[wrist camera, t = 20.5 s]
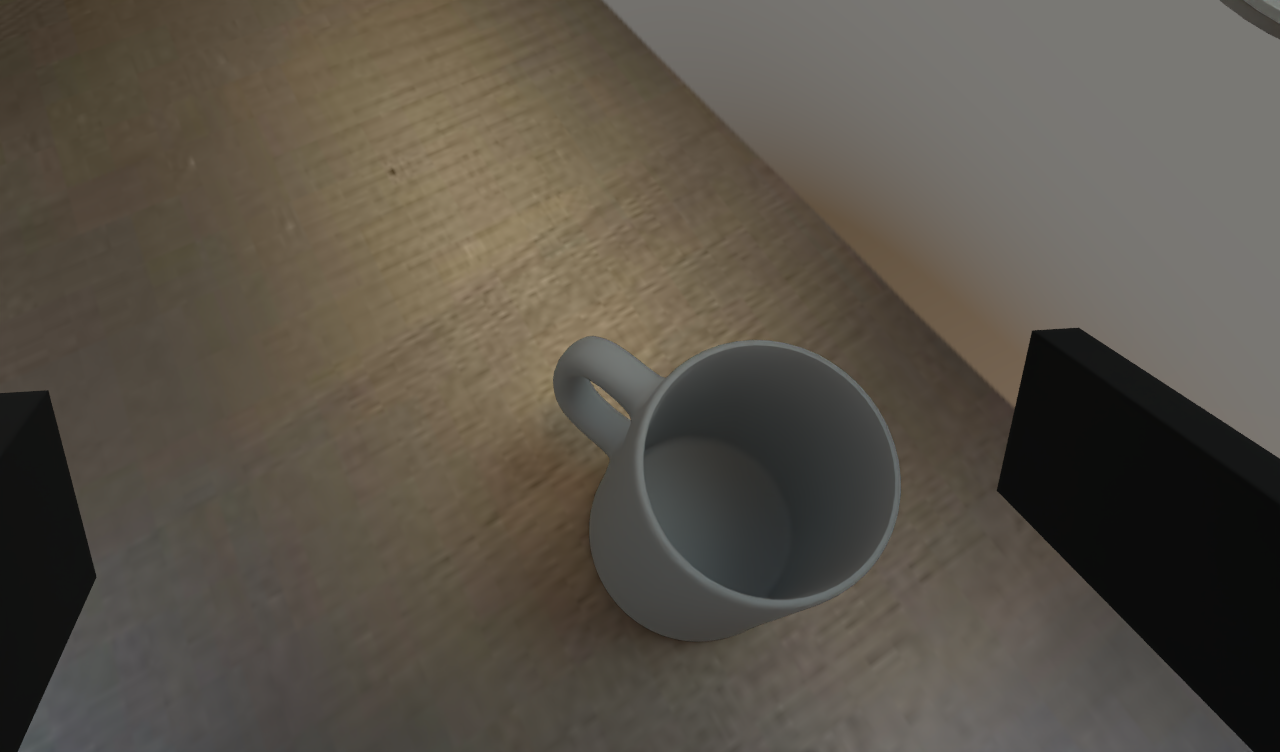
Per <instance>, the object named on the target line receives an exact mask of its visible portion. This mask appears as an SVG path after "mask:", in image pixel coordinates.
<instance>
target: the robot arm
mask: <svg viewBox="0 0 1280 752" xmlns="http://www.w3.org/2000/svg"><path fill="white" fill-rule="evenodd" d="M997 491H998V492H999V493H1000V494H1001V495H1002V496H1003V497H1004V498H1005V499H1006V500H1007V501H1008V502H1009V503H1010V504H1011V505H1012V506H1013V507H1014V509H1015V510H1016V511H1017V512H1018V513H1019V514H1020V515H1021V516H1022V517H1023V518H1024V519H1025V520H1026V521H1027V522H1028V523H1029V524H1030V525H1031V526H1032V527H1033V528H1034V529H1035V530H1036V531H1037V532H1038V533H1039V534H1040V535H1041V536H1042V537H1043V538H1044V539H1045V540H1046V541H1047V542H1048V543H1049V544H1050V545H1051V546H1052V547H1053V548H1054V549H1055V550H1056V551H1057V552H1058V553H1059V554H1060V555H1061V556H1062V557H1063V558H1064V559H1065V560H1066V561H1067V562H1068V563H1069V564H1070V565H1071V567H1072V568H1073V569H1074V570H1075V571H1076V572H1077V573H1078V574H1079V575H1080V576H1081V577H1082V578H1083V579H1084V580H1085V581H1086V582H1087V583H1088V584H1089V585H1090V586H1091V587H1092V588H1093V589H1094V590H1095V591H1096V592H1097V593H1098V594H1099V595H1100V596H1101V597H1102V598H1103V599H1104V600H1105V601H1106V602H1107V603H1108V604H1109V605H1110V606H1111V607H1112V608H1113V609H1114V610H1115V611H1116V612H1117V613H1118V614H1119V615H1120V616H1121V617H1122V618H1123V619H1124V620H1125V621H1126V622H1127V623H1128V624H1129V626H1130V627H1131V628H1132V629H1133V630H1134V631H1135V632H1136V633H1137V634H1138V635H1139V636H1140V637H1141V638H1142V639H1143V640H1144V641H1145V642H1146V643H1147V644H1148V645H1149V646H1150V647H1151V648H1152V649H1153V650H1154V651H1155V652H1156V653H1157V654H1158V655H1159V656H1160V657H1161V658H1162V659H1163V660H1164V661H1165V662H1166V663H1167V664H1168V665H1169V666H1170V667H1171V668H1172V669H1173V670H1174V671H1175V672H1176V673H1177V674H1178V675H1179V676H1180V677H1181V678H1182V679H1183V680H1184V681H1185V682H1186V683H1187V685H1188V686H1189V687H1190V688H1191V689H1192V690H1193V691H1194V692H1195V693H1196V694H1197V695H1198V696H1199V697H1200V698H1201V699H1202V700H1203V701H1204V702H1205V703H1206V704H1207V705H1208V706H1209V707H1210V708H1211V709H1212V710H1213V711H1214V712H1215V713H1216V714H1217V715H1218V716H1219V717H1220V718H1221V719H1222V720H1223V721H1224V722H1225V723H1226V724H1227V725H1228V726H1229V727H1230V728H1231V729H1232V730H1233V731H1234V732H1235V733H1236V734H1237V735H1238V736H1239V737H1240V738H1241V739H1242V740H1243V741H1244V742H1245V744H1246V745H1247V746H1248V747H1249V748H1250V749H1251V750H1252V751H1253V752H1280V459H1279V458H1278V457H1276V456H1275V455H1273V454H1272V453H1270V452H1269V451H1267V450H1265V449H1264V448H1262V447H1261V446H1259V445H1258V444H1256V443H1255V442H1253V441H1252V440H1250V439H1249V438H1247V437H1245V436H1244V435H1243V434H1241V433H1239V432H1238V431H1236V430H1235V429H1233V428H1232V427H1230V426H1229V425H1227V424H1226V423H1224V422H1222V421H1221V420H1219V419H1218V418H1216V417H1215V416H1213V415H1212V414H1210V413H1209V412H1207V411H1206V410H1204V409H1203V408H1201V407H1200V406H1198V405H1196V404H1195V403H1193V402H1192V401H1190V400H1189V399H1187V398H1186V397H1184V396H1183V395H1181V394H1180V393H1178V392H1176V391H1175V390H1173V389H1172V388H1170V387H1169V386H1167V385H1166V384H1164V383H1163V382H1161V381H1159V380H1158V379H1157V378H1155V377H1153V376H1152V375H1150V374H1149V373H1147V372H1146V371H1144V370H1143V369H1141V368H1140V367H1138V366H1137V365H1135V364H1133V363H1132V362H1130V361H1129V360H1127V359H1126V358H1124V357H1123V356H1121V355H1120V354H1118V353H1117V352H1115V351H1114V350H1112V349H1110V348H1109V347H1107V346H1106V345H1104V344H1103V343H1101V342H1100V341H1098V340H1097V339H1095V338H1093V337H1092V336H1090V335H1089V334H1087V333H1086V332H1084V331H1083V330H1081V329H1080V328H1068V329H1052V330H1035V331H1032V334H1031V338H1030V343H1029V348H1028V352H1027V356H1026V361H1025V366H1024V370H1023V375H1022V380H1021V384H1020V388H1019V393H1018V397H1017V402H1016V406H1015V411H1014V415H1013V420H1012V424H1011V429H1010V433H1009V438H1008V442H1007V447H1006V451H1005V456H1004V460H1003V465H1002V469H1001V474H1000V479H999V483H998V488H997ZM95 579H96V573H95V569H94V566H93V562H92V558H91V554H90V550H89V546H88V542H87V539H86V535H85V531H84V527H83V523H82V519H81V515H80V511H79V508H78V504H77V500H76V496H75V492H74V488H73V484H72V480H71V477H70V473H69V469H68V465H67V461H66V457H65V453H64V449H63V446H62V442H61V438H60V434H59V430H58V426H57V422H56V419H55V415H54V411H53V407H52V403H51V399H50V395H49V391H48V390H47V391H31V392H14V393H0V752H18V750H19V747H20V745H21V743H22V741H23V739H24V736H25V734H26V732H27V730H28V728H29V725H30V723H31V721H32V719H33V716H34V714H35V712H36V710H37V708H38V705H39V703H40V701H41V699H42V696H43V694H44V692H45V690H46V688H47V685H48V683H49V681H50V679H51V677H52V674H53V672H54V670H55V668H56V665H57V663H58V661H59V659H60V657H61V654H62V652H63V650H64V648H65V646H66V643H67V641H68V639H69V637H70V634H71V632H72V630H73V628H74V626H75V623H76V621H77V619H78V617H79V615H80V612H81V610H82V608H83V606H84V603H85V601H86V599H87V597H88V595H89V592H90V590H91V588H92V586H93V584H94V581H95Z"/></svg>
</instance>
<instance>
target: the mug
mask: <svg viewBox="0 0 1280 752" xmlns="http://www.w3.org/2000/svg"><path fill="white" fill-rule="evenodd" d="M590 381H592V382H593V383H595V384H596V385H598V386H599V387H600V388H602V389H603V390H604V391H605V392H607V393H608V394H609V395H610V396H611V397H613V398H614V399H615V400H616V401H617V402H618V403H619V404H620V405H621V406H622V407H623V408H624V409H625V410H626V411H627V413H628V414H629V415H630V418H631V420H630V419H628V418H626V417H625V416H624V415H622V414H621V413H620V412H618V411H617V410H616V409H615V408H613V407H612V406H611V405H610V404H609V403H608V402H607V401H605V400H604V399H603V398H602V397H601V396H600V394H599V393H598V392H597V391H596V390H595V388H594V387H593V385H592V384H591V382H590ZM553 386H554V392H555V396H556V400H557V402H558V404H559V406H560V408H561V409H562V411H563V412H564V414H565V415H566V416H567V417H568V418H569V420H570V421H571V422H572V423H573V424H574V425H575V426H576V427H577V428H578V429H579V430H580V431H581V432H583V433H584V434H585V435H586V436H587V437H588V438H589V439H590V440H592V441H593V442H594V443H595V444H596V445H597V446H598V447H600V448H601V449H602V450H603V451H604V452H605V453H606V454H607V455H608V457H609V458H610V462H609V465H608V467H607V470H606V473H605V475H604V477H603V479H602V480H601V482H600V484H599V487H598V489H597V492H596V494H595V497H594V501H593V505H592V509H591V514H590V522H589V540H590V547H591V554H592V557H593V561H594V564H595V568H596V570H597V572H598V575H599V577H600V579H601V581H602V583H603V585H604V587H605V588H606V590H607V592H608V593H609V595H610V596H611V597H612V598H613V600H614V601H615V602H616V604H617V605H618V606H619V607H620V608H621V609H622V610H623V611H624V612H625V613H626V614H627V615H629V616H630V617H631V618H632V619H634V620H635V621H636V622H638V623H639V624H641V625H642V626H644V627H646V628H648V629H649V630H651V631H653V632H656V633H658V634H661V635H663V636H666V637H670V638H673V639H677V640H684V641H692V642H698V641H713V640H719V639H724V638H728V637H731V636H734V635H737V634H740V633H742V632H744V631H746V630H749V629H751V628H753V627H756V626H759V625H762V624H764V623H767V622H770V621H773V620H776V619H779V618H782V617H785V616H788V615H790V614H793V613H796V612H799V611H802V610H805V609H808V608H811V607H814V606H816V605H819V604H821V603H823V602H825V601H828V600H830V599H832V598H834V597H836V596H838V595H839V594H841V593H842V592H844V591H845V590H847V589H849V588H850V587H852V586H853V585H854V584H855V583H856V582H857V581H859V580H860V579H861V578H862V577H863V576H864V575H865V574H866V573H867V572H868V571H869V570H870V569H871V567H872V566H873V565H874V564H875V562H876V561H877V560H878V559H879V557H880V555H881V554H882V552H883V550H884V549H885V547H886V545H887V543H888V541H889V539H890V536H891V534H892V532H893V529H894V526H895V522H896V519H897V515H898V511H899V503H900V496H901V476H900V467H899V460H898V456H897V452H896V448H895V444H894V441H893V439H892V436H891V433H890V431H889V428H888V426H887V424H886V422H885V420H884V418H883V417H882V415H881V413H880V411H879V410H878V408H877V407H876V405H875V404H874V402H873V401H872V399H871V398H870V397H869V396H868V394H867V393H866V392H865V391H864V390H863V389H862V387H861V386H860V385H859V384H858V383H857V382H856V381H855V380H854V379H852V378H851V377H850V376H849V375H848V374H847V373H846V372H844V371H843V370H842V369H840V368H839V367H838V366H836V365H835V364H833V363H832V362H830V361H828V360H827V359H825V358H823V357H821V356H820V355H818V354H816V353H813V352H811V351H809V350H806V349H804V348H801V347H798V346H794V345H791V344H787V343H782V342H776V341H770V340H746V341H736V342H731V343H727V344H723V345H718V346H716V347H713V348H710V349H708V350H705V351H703V352H701V353H699V354H697V355H695V356H693V357H692V358H690V359H688V360H687V361H685V362H684V363H683V364H681V365H680V366H679V367H677V368H676V369H675V370H674V371H673V372H672V373H671V374H670V375H669V376H668V377H667V378H664V377H661V376H660V375H658V374H656V373H655V372H654V371H652V370H651V369H650V368H648V367H647V366H646V365H645V364H643V363H642V362H641V361H639V360H638V359H637V358H636V357H634V356H633V355H632V354H630V353H629V352H627V351H626V350H625V349H623V348H622V347H620V346H619V345H617V344H615V343H613V342H611V341H609V340H607V339H604V338H601V337H596V336H588V337H585V338H582V339H580V340H578V341H576V342H575V343H573V344H572V345H571V346H570V347H569V348H568V349H567V350H566V351H565V352H564V354H563V355H562V356H561V358H560V359H559V361H558V364H557V366H556V369H555V371H554V376H553Z"/></svg>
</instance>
